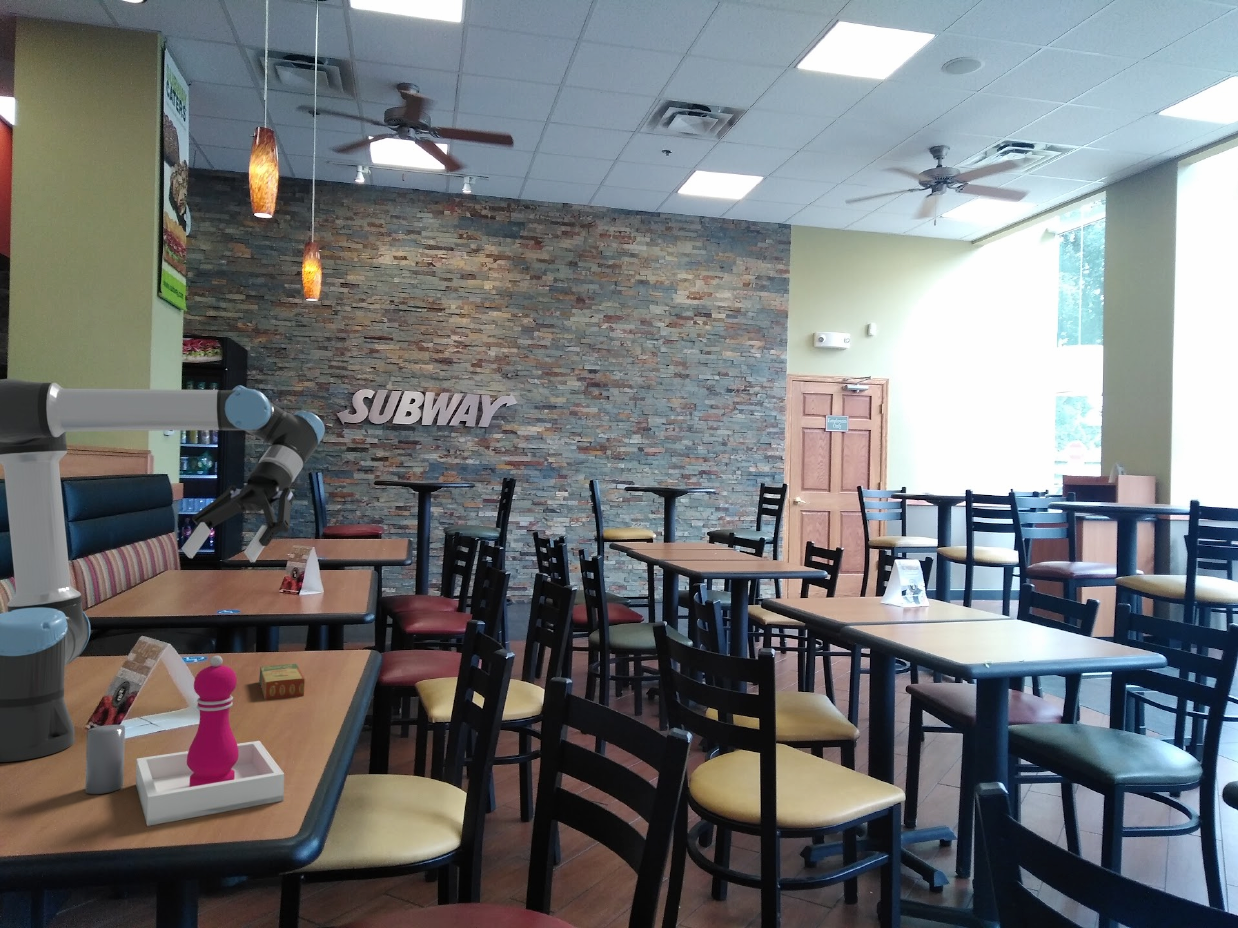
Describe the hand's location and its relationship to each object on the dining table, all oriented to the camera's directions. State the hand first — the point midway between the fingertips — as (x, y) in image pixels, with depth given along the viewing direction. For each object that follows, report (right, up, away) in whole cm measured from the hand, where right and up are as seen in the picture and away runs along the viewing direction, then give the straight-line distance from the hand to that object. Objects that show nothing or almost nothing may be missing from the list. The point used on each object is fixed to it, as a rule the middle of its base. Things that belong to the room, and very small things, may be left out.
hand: (217, 555), depth 153 cm
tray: (+10, -34, -24) cm, 42 cm away
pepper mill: (+10, -33, -23) cm, 42 cm away
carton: (-3, -35, +37) cm, 51 cm away
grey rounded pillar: (-6, -33, -23) cm, 41 cm away
